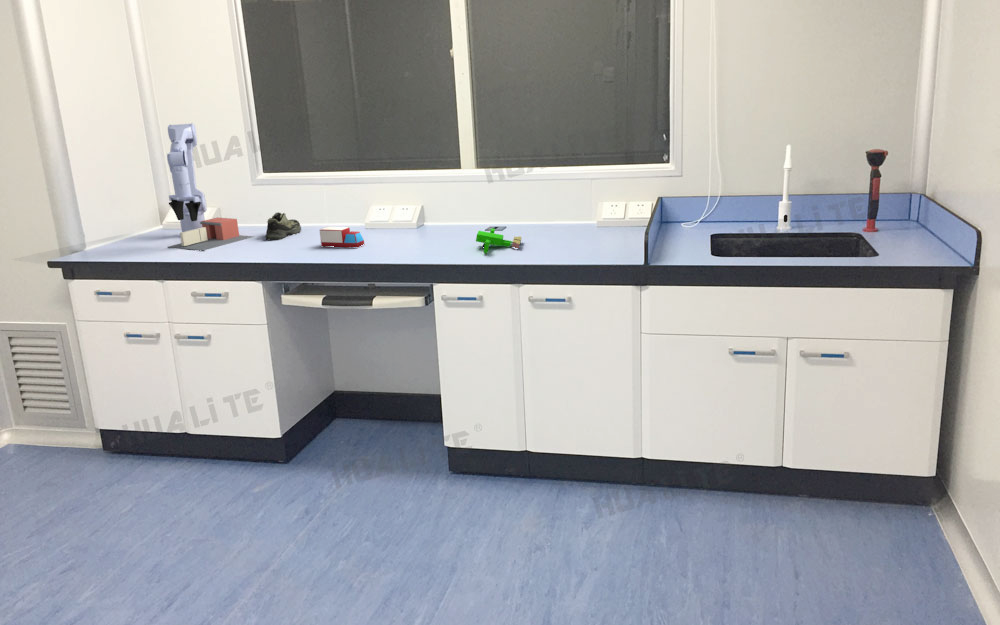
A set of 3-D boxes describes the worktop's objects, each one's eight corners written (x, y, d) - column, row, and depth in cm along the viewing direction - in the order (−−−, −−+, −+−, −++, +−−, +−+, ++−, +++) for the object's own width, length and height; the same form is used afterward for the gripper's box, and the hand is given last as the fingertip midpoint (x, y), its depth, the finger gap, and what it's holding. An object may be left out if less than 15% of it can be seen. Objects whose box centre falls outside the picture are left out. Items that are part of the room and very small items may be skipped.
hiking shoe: (306, 229, 331) (304, 207, 329) (283, 241, 311) (279, 216, 309) (287, 230, 333) (284, 207, 330) (262, 241, 313) (259, 217, 310)
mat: (167, 247, 309) (167, 246, 309) (219, 234, 330) (219, 233, 330) (203, 251, 299) (203, 250, 299) (254, 237, 320) (254, 236, 320)
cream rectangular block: (181, 245, 307) (179, 232, 306) (205, 239, 316) (203, 227, 315) (184, 246, 306) (182, 233, 305) (207, 240, 315) (205, 227, 314)
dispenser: (202, 238, 321) (199, 221, 319) (219, 234, 328) (217, 217, 326) (222, 240, 315) (219, 223, 313) (239, 235, 323) (237, 218, 321)
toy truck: (357, 249, 291) (355, 230, 289) (321, 247, 297) (319, 229, 295) (364, 245, 296) (363, 227, 294) (329, 244, 302) (327, 226, 300)
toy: (519, 247, 293) (478, 239, 293) (522, 234, 291) (481, 226, 292) (515, 262, 271) (471, 254, 272) (518, 248, 270) (474, 239, 270)
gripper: (159, 185, 304) (166, 221, 308) (185, 186, 296) (191, 223, 300) (175, 182, 309) (181, 217, 313) (201, 183, 302) (207, 219, 306)
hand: (187, 220), depth 307 cm, fingers open, 7 cm apart
